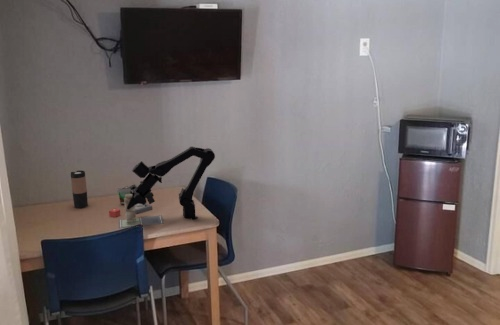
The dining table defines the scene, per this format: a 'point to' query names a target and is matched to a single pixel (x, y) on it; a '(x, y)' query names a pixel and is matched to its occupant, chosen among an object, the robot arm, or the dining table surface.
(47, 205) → the dining table surface
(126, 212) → the capped square post
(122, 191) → the food container
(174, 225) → the dining table surface
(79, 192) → the travel mug
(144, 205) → the dome button
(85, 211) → the dining table surface
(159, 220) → the board
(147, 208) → the dome housing
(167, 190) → the dining table surface
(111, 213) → the red die
